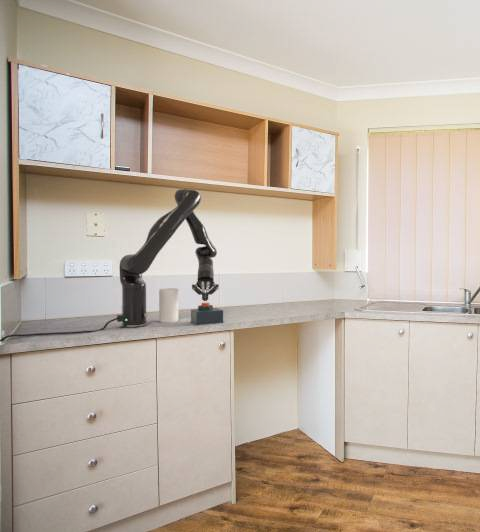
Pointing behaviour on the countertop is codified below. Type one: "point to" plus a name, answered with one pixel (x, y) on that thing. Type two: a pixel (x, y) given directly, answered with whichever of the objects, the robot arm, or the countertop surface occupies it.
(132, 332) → the countertop surface
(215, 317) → the grey button base
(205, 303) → the button
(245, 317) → the countertop surface
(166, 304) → the cup
